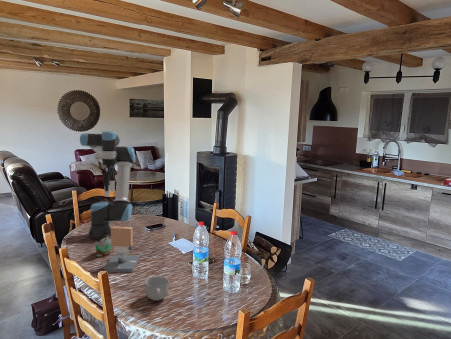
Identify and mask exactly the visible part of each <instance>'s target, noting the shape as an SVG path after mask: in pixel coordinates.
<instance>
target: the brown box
mask: <svg viewBox="0 0 451 339" xmlns="http://www.w3.org/2000/svg"><path fill="white" fill-rule="evenodd" d="M110 227H111V246H113V247H114V248H113V249H114V253H116V254H118V253H126V254H127V253H128V252H130V251H132V250H133V244H134V243H133V242H134V241H133V240H134V239H133V238H134V236H133V234H134V232H133V230H134V229H133V226H113V225H112V226H110Z"/></svg>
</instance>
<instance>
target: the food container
mask: <svg viewBox="0 0 451 339" xmlns="http://www.w3.org/2000/svg"><path fill="white" fill-rule="evenodd" d="M94 246H95V250H96V251H95V252H96V258H105V257H108V256H109V255H110V254H111V236H109V235H106V237H105V238H103V239H99V240H98V241H95V242H94Z"/></svg>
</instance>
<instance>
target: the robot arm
mask: <svg viewBox="0 0 451 339" xmlns="http://www.w3.org/2000/svg"><path fill="white" fill-rule="evenodd" d="M79 143H80V145H81V146H84V147H89V148H91V150H93V152H95V153H96V155H97V156H98V157H99V159H101V160H102V165H103V166H105V167H104V168H103V170H104V172H103V173H104V174H103V175H104V176H103V184H102V186H104V189H103V190H104V197H111V192H115V198H114V200H112V203H110V202H109V201H106V200H105V201H99V202H95V203H93V204H91V205H90V228H89V232H88V238H89V239H93V240H101V239H103V238H105V237H106V235H109V236H111V227H112V226H111V225H110V222H127V221H128V222H129V220H130V219H131V216H132V214H133V204H131V201H130V200H129V193H130V192H129V190H130V178H131V167H133V164H134V163H136V155H135V154H136V153H135V148H134V147H132V146H122V145H121V146H119V145H120V143H121V138H120V136H119V135H118V134H116V132H115V131H108V130H107V131H102V132H101V133H86V132H85V133H81V134H80V136H79ZM115 166H117V171H116V172H117V173H116V172H115ZM115 174H116V175H115ZM115 181H116V182H115ZM115 185H116V186H115ZM115 187H116V188H115Z"/></svg>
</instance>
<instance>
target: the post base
mask: <svg viewBox="0 0 451 339" xmlns="http://www.w3.org/2000/svg"><path fill="white" fill-rule="evenodd" d="M139 260H140V255H134V254H133V255H127V252H126V253H117V254H116V255H114V254H113V255H112V256H111V257H110V259H109V261H107V263H106V265H105V266H104V267H103V271H104V270H105V271H107V272H106V273H133V272H134V270H135V267H137V264H138V262H139Z"/></svg>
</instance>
